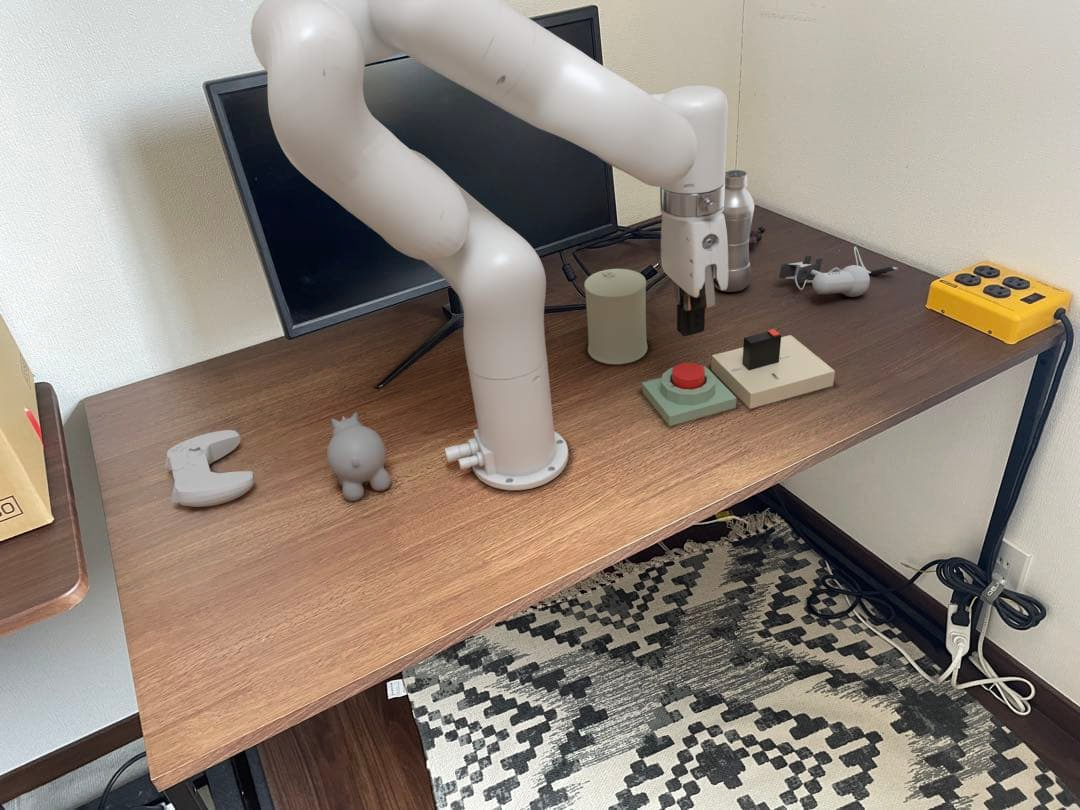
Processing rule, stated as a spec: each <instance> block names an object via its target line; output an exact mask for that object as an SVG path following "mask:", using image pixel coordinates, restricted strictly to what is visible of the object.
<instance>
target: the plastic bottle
mask: <svg viewBox="0 0 1080 810" xmlns="http://www.w3.org/2000/svg"><path fill="white" fill-rule="evenodd" d="M748 175H749V174H748V172H747V171H746V170H741V169H740V170H739V169H732V170H726V171H725V197H724V211H723V212H722V213H723V214H724V217H725V223H726V230H727V241H728V287H727V289H726V290H725V291H724V292H725V293H726V292H728V293H735V292H740V291H744V290H745V289H746V288H747V287H748V285H749V284H750V282H751V277H752V267H751V262H750V245H749V236H750V232H751V227H752V222H753V217H754V212H755V203H754V202H755V201H754V199H753V197H752V195H751V193H750V192H749V191H748V189H747V188H746V187H748V185H749V184H748V183H749V181H748ZM714 289H716V290H719V289H718V288H717V287H715V286H714ZM719 291H720V290H719Z"/></svg>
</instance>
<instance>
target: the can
mask: <svg viewBox="0 0 1080 810" xmlns="http://www.w3.org/2000/svg"><path fill="white" fill-rule="evenodd" d="M583 286H584V291H585V292H584V294H585V306H586V320H587V340H588V341H587V343H588V344H587V345H588V346H587V352H588V355H589V356H590V357H591V358H592V359H593V360H595V361H597V362H599V363H602V364H607V365H626V364H631V363H634V362H636V361H638V360H640V359H641V358H643V357H645V355H646V353H647V352H648V342H647V341H648V340H647V306H646V305H647V301H646V300H647V297H646V295H647V292H646V291H647V279H646V277H645V276H644V275H643V274H642V273H640V272H638V271H635V270H632V269H628V268H610V269H604V270H601V271H596V272H594V273H592V274H591V275H589V276H588V277H587V278H586V279H585V280H584V283H583Z"/></svg>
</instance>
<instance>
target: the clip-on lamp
mask: <svg viewBox="0 0 1080 810" xmlns="http://www.w3.org/2000/svg"><path fill="white" fill-rule="evenodd" d="M853 253H854V258H855V262H856V264H851V265H848V266H845V267H844V268H842V269H841V268H840V267H834V268H832V269H830V270H829V271H828V272H821V267H822V262H823V258H822V257H817V258H816V259H815V262H814V263H811V260H812V255H811V254H806V255H805V256H804V259H803V260H796V261H788V262H783V263H781V265H780V270H779V273H778V274H779V276H778V277H779V279H783V280H784V279H791V280H794V283H795V286H796V287H797V289H798V291H800V292H801V291H803V290H804V288H805V286H806V284H811V285H812V289H813V291H814V292H815V293H816V294H817V295H832V294H834V295H835V294H842V295H844V296H846V297H849V298H850V297H851V298H855V297H859V296H862V295H863V294H865V293H866V291H868V289H869V287H870V282H871V277H870V274H871V275H874V276H875V275H878V276H880V275H882V274H888V273H889V272H893V271H898V270H899V267H895V266H894V265H892V266H886V267H882V268H877V269H872V270H868V269H867V268H866V267H865V265H864V263H863V260H862V257H861V255H860V252H859V250H858V248H857V246H854V247H853ZM858 260H859V261H858ZM859 263H860V265H859ZM802 283H803V285H802V287H800V285H799V284H802Z"/></svg>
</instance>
